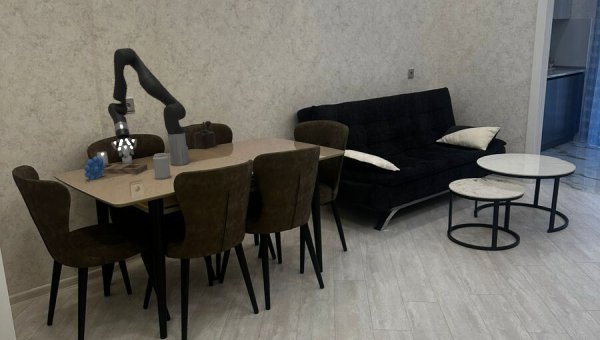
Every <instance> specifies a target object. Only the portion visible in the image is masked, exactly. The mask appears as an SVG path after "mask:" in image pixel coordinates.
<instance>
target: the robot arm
mask: <svg viewBox="0 0 600 340" xmlns="http://www.w3.org/2000/svg"><path fill="white" fill-rule="evenodd" d="M126 66H130V67H131V68H132V69H133V70H134V71H135V73H136V74H137V79H138V83H139V85H140V87H141V88H142V89H143V90H144V91H145V92H146V93H147V94H148V95H149V96H150V97H152V98H154V99H155V100H157V101H158V102H160V103H162V104H163V105H164V108H163V112H162V113H163V121H164V122H163V123H164V127H165V130H166V132H167V141H168V150H169V162H170V165H171V166H175V167H177V166H185V165H188V164H190V158H189V155H190V154H189V148H188V147H189V146H188V145H187V141H186V131H185V127H183V126H181V125H180V121H181V120H183V119H185V117H186V115H187V110H186V109H185V106H184V105H183V104H182V103H181V102H180V101H179V100H178V99H176V98H175V97H174V95H172V94H171V93H170V91H168V89H167V88H166V87H165V86H164V85H163V84H162V83H161V81H160V80H159V79H158V78H157V77H156V76H155V75H154V73H152V72H151V70H150V69H149V68H148V66H146V64H145V63H144V62H143V61H142V59H141V58H140V57H139V54H137V52H136V51H135V50H134V49H133V48H131V47H130V48H129V47H127V48H126V47H125V48H117V49H116V50H115V51H114V54H113V70H114V71H113V72H114V83H113V84H114V86H113V93H112V94H113V95H112V98H113V100H115V101H117V103H116V102H111V103H109V104H108V106H107V111H108V115H109V116H110V117H111V119H112V122H113V125H114V126H113V127H114V134H115V139H116V140H115V141H111V142H110V143H111V144H110V145H111V147H112V149H113V150H114V153H118V157H120V158H121V159H122V153H121V147H120V146H121V145H127V144H128V145H130V149H131V156H132V157H134V156H135V153H134V152H135V151H136V150H137V145H138V139H137V138H134V139H132V137H131V133H130V127H129V126H128V120H127V118H126V115H127V114H128V105H127V93H128V83H127V80H126V77H125V67H126ZM119 102H120V103H119ZM132 144H133V146H132ZM117 146H118V148H117Z"/></svg>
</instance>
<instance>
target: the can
mask: <svg viewBox="0 0 600 340" xmlns="http://www.w3.org/2000/svg"><path fill="white" fill-rule="evenodd" d="M152 162H153V169H154V172H153V173H154V178H156V179H157V180H166V179H169V178H170V176H171V168H170V167H171V166H170V165H171V164H170V156H169V155H168V154H167V153H165V152H161V153H155V154H153V158H152Z"/></svg>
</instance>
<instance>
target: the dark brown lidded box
mask: <svg viewBox="0 0 600 340" xmlns="http://www.w3.org/2000/svg"><path fill="white" fill-rule="evenodd" d="M211 125H212V122H211V121H210V120H206V121H202V129H201V130H199V131H198V132H194V133H192V137H193V147H194V149H199V150H200V149H203V150H207V149H212V148H215V147H217V139H216V138H217V137H216V135H217V134H216V132H214V131H209V130H210V129H211V128H212V127H211ZM205 128H206V129H205ZM208 129H209V130H208Z"/></svg>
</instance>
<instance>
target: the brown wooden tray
mask: <svg viewBox="0 0 600 340" xmlns="http://www.w3.org/2000/svg"><path fill="white" fill-rule="evenodd" d="M108 164H109V167H107V168H104V169H102V170H103V171H104V174H103V175H106V174H107V175H108V174H109V175H116V174H117V175H125V174H126V175H131V176H138V175H139V174H142V173H144V172H146V171H148V170H149V169H148V164H147V163H146V164H145V163H131V164H123V163H114V164H113V163H108Z"/></svg>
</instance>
